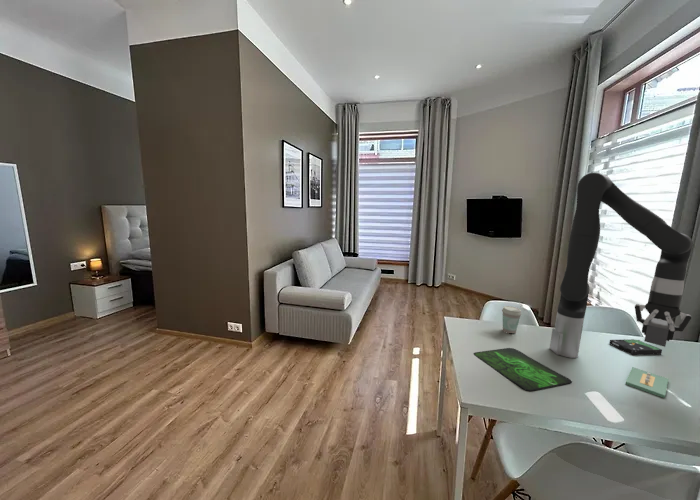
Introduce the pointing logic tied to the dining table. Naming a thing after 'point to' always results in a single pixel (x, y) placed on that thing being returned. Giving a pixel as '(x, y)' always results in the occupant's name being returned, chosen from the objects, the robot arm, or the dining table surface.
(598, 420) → the dining table surface
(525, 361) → the mouse mat
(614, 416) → the dining table surface
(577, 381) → the dining table surface
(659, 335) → the block
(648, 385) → the green flat rectangular block
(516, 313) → the coffee cup
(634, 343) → the disk drive
